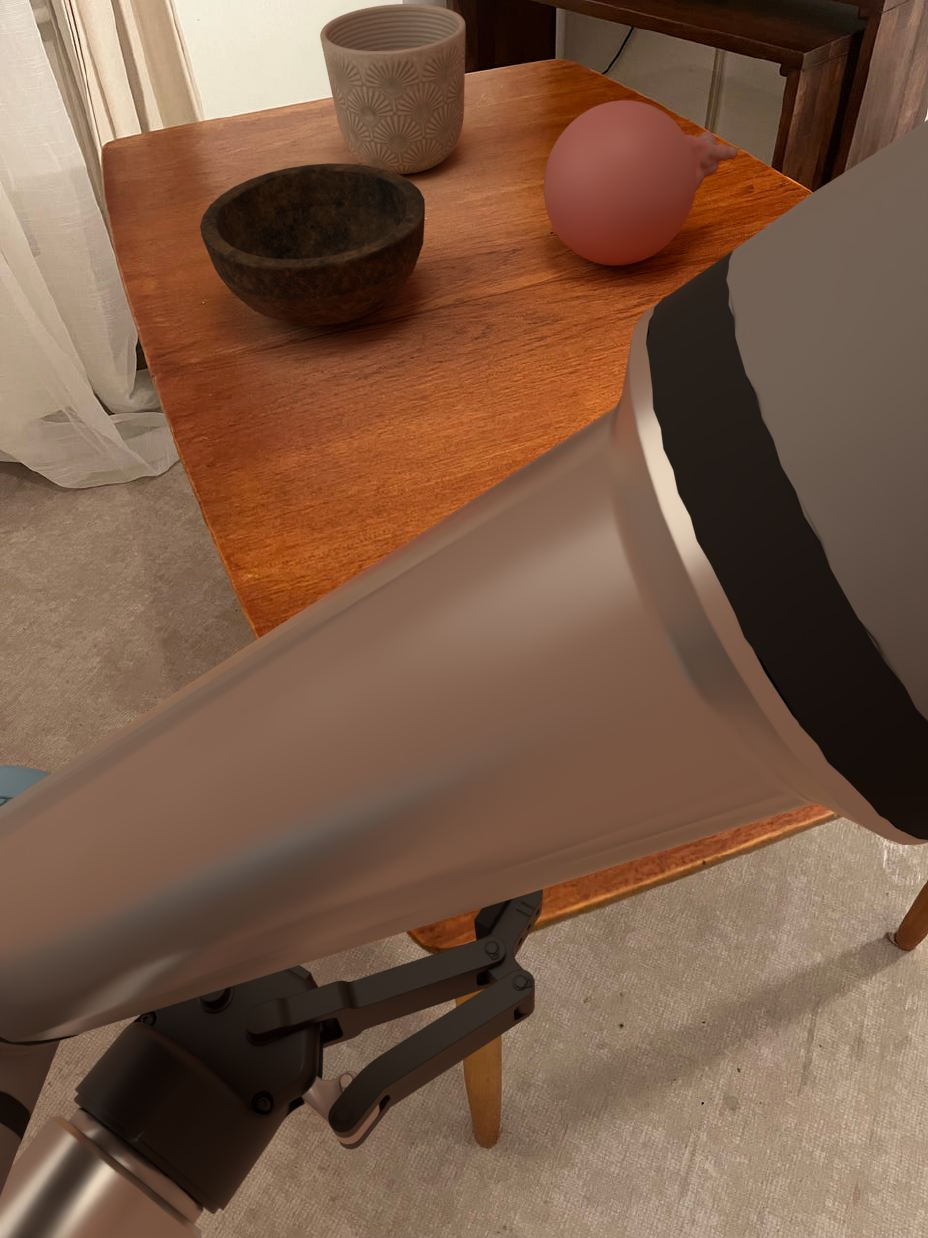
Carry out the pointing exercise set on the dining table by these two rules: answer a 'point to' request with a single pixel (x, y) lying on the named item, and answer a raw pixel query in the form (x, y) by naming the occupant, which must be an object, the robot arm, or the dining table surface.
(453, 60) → the planter
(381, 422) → the dining table surface
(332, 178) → the bowl
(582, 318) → the dining table surface
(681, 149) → the balloon
